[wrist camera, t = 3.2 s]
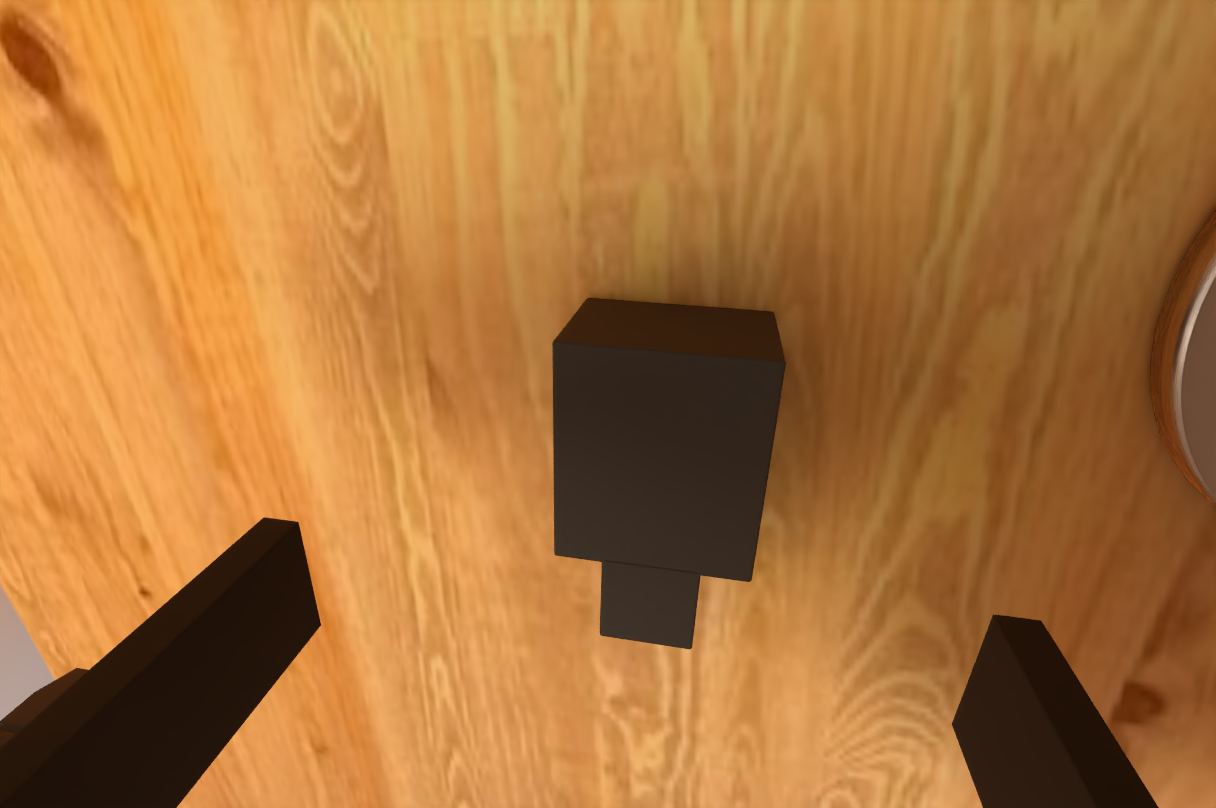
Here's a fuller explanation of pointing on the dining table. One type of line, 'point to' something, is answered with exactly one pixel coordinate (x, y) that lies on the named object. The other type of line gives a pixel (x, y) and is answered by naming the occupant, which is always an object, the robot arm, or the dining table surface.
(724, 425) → the pad
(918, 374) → the dining table surface
